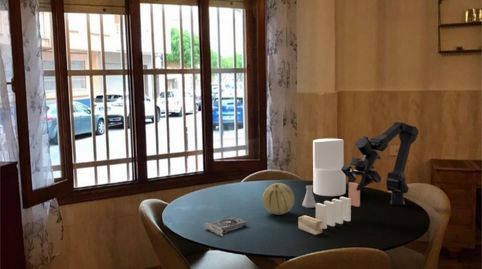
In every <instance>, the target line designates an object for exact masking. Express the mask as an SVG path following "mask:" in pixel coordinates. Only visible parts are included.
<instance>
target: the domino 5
mask: <svg viewBox="0 0 482 269" xmlns="http://www.w3.org/2000/svg"><path fill="white" fill-rule="evenodd" d="M358 185H359V183H357V182H354V183H353V182H350V183H349V189H348V198H350V199H351V206H353V207H361V189H360V190H359V191H357V190H356V189H357V186H358Z"/></svg>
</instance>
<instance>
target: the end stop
mask: <svg viewBox="0 0 482 269" xmlns="http://www.w3.org/2000/svg"><path fill="white" fill-rule="evenodd" d="M297 220H298V229H299V230H302V231H304V232H307V233H310V234H312V235H315V236H316V235H318V234H319V235H320V234H322V233H323V228H322V221H321V220H318V219H316V217H315V218H314V217H311V216H308V215H302V216H298V219H297Z"/></svg>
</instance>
